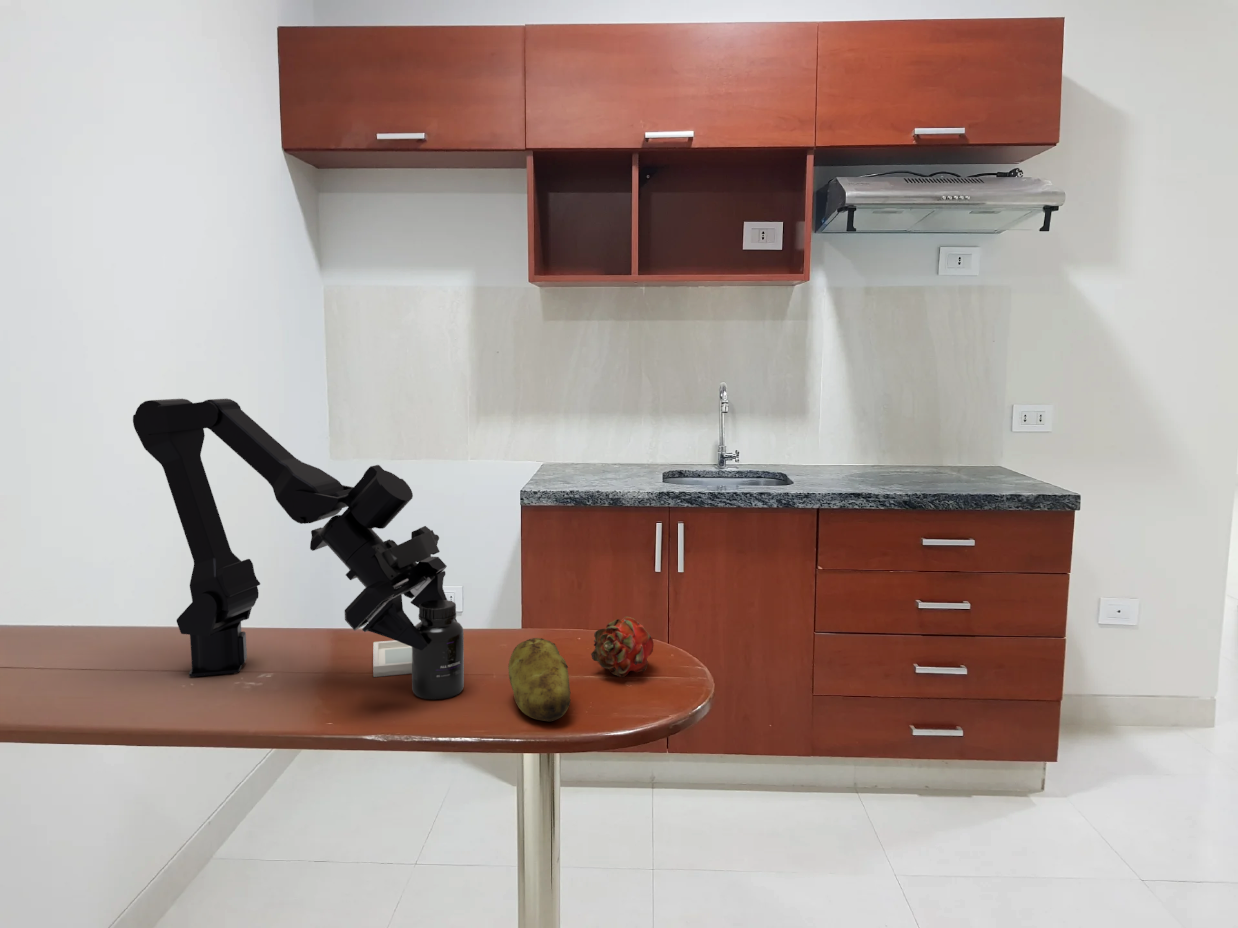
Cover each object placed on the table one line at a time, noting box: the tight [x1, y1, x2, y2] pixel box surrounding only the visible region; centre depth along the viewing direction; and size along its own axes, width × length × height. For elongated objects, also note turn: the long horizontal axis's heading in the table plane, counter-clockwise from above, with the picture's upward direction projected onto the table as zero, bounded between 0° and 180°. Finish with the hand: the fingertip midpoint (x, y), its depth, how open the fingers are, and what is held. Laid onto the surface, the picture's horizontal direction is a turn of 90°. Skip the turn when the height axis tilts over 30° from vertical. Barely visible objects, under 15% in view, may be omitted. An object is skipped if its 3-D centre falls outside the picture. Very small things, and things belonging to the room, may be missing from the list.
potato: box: [508, 637, 571, 723], centre depth 108 cm, size 8×13×8 cm, turn 1°
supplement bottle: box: [411, 599, 465, 700], centre depth 113 cm, size 7×7×12 cm
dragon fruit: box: [590, 616, 655, 678], centre depth 121 cm, size 8×8×12 cm
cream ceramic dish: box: [372, 640, 412, 678], centre depth 125 cm, size 11×11×2 cm
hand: (440, 636), depth 113 cm, fingers open, 9 cm apart
